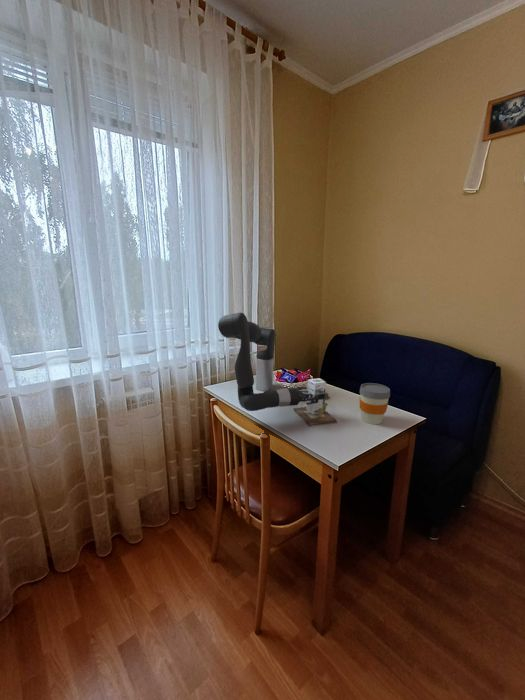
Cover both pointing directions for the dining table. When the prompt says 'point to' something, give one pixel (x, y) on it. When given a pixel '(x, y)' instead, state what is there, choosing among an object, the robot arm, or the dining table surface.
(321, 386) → the syrup box
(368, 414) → the reusable coffee cup
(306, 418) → the pin board
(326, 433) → the dining table surface
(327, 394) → the walkie-talkie
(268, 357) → the robot arm
